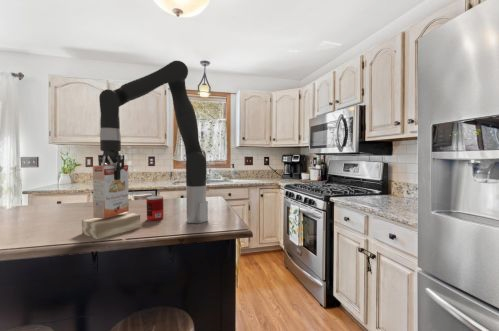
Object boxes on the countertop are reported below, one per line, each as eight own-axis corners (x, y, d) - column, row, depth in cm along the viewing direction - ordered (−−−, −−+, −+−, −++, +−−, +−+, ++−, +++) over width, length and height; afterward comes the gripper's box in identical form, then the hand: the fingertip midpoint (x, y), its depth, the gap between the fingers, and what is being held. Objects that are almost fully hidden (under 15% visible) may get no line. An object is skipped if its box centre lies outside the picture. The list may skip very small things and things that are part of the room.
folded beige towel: (140, 228, 110) (140, 214, 109) (96, 239, 95) (96, 224, 94) (125, 224, 116) (124, 211, 116) (82, 234, 101) (81, 219, 101)
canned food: (166, 217, 128) (165, 195, 128) (159, 221, 120) (158, 198, 120) (151, 216, 129) (151, 195, 128) (143, 220, 121) (143, 198, 121)
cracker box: (106, 218, 98) (104, 165, 97) (92, 218, 99) (91, 165, 98) (130, 211, 111) (128, 164, 111) (118, 210, 113) (116, 164, 112)
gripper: (130, 139, 104) (131, 179, 105) (108, 140, 111) (109, 178, 111) (113, 138, 97) (114, 181, 98) (91, 139, 104) (92, 179, 105)
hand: (111, 179), depth 105 cm, fingers closed on cracker box, 6 cm apart
